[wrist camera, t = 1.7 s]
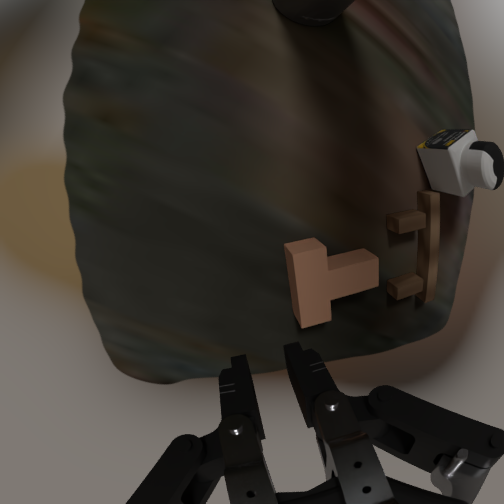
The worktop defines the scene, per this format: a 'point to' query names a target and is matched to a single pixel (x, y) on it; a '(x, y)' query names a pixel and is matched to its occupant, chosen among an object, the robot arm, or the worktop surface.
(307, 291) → the T block
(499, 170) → the medicine bottle
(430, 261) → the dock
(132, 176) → the worktop surface
